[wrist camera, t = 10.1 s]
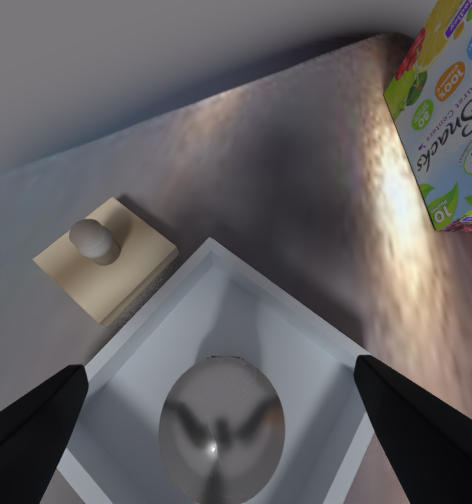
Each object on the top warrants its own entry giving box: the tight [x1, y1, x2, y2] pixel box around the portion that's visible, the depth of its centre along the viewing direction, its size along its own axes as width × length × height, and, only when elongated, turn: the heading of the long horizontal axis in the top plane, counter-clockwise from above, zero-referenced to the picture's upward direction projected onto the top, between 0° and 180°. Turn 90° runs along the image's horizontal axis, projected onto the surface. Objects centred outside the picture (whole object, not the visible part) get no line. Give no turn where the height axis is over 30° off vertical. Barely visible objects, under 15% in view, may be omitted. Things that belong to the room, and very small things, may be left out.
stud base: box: [33, 197, 179, 327], centre depth 20 cm, size 8×8×5 cm
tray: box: [57, 237, 376, 504], centre depth 16 cm, size 15×15×4 cm
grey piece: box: [158, 356, 285, 504], centre depth 13 cm, size 5×5×10 cm
